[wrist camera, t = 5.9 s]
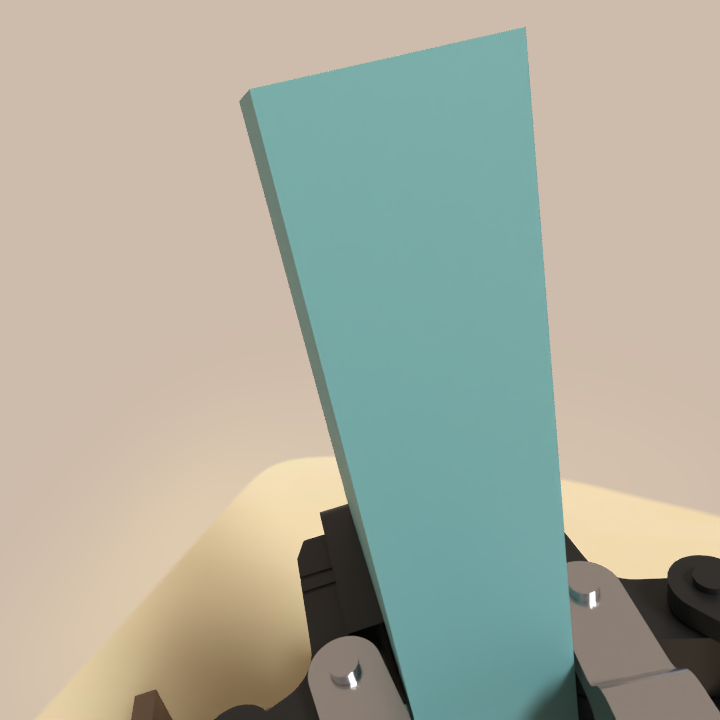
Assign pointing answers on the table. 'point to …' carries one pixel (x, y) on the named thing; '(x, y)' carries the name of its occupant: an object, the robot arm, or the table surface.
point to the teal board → (433, 358)
